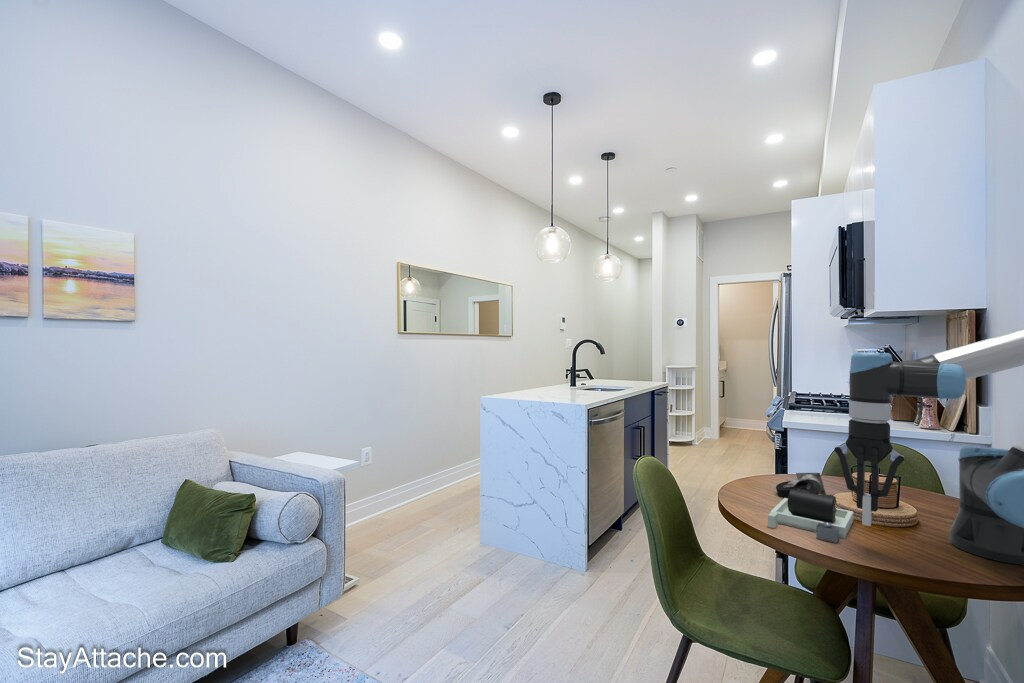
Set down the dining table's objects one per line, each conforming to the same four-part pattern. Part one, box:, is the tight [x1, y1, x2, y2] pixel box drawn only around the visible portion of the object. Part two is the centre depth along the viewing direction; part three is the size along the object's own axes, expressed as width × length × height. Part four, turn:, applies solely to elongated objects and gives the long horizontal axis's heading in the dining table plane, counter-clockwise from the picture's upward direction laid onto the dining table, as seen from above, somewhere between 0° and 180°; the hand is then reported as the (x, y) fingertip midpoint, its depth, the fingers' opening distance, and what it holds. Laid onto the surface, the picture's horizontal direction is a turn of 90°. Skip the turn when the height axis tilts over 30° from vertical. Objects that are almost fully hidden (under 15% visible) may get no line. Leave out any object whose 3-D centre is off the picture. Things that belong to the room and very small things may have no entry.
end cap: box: [787, 489, 838, 524], centre depth 123 cm, size 10×7×7 cm
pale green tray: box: [767, 498, 854, 540], centre depth 122 cm, size 16×20×3 cm
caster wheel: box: [775, 472, 827, 499], centre depth 143 cm, size 7×11×10 cm
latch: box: [815, 522, 840, 544], centre depth 112 cm, size 4×3×4 cm
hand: (866, 523), depth 107 cm, fingers closed
